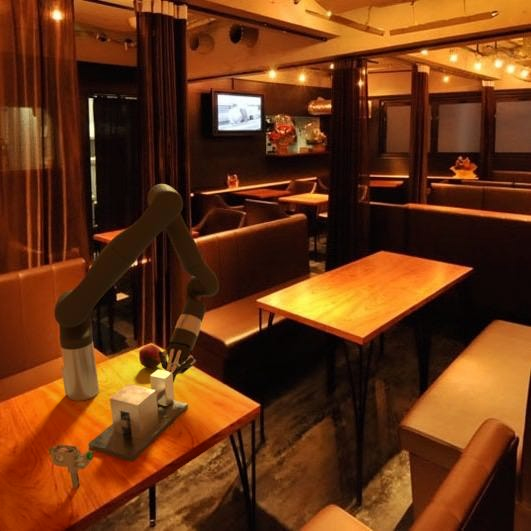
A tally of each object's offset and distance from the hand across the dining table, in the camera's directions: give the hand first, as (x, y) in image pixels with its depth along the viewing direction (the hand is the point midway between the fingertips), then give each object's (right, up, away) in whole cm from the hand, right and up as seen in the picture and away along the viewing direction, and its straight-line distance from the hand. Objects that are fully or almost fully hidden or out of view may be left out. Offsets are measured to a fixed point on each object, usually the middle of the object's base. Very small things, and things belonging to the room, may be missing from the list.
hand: (167, 385), depth 149 cm
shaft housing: (-5, -9, -10) cm, 15 cm away
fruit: (-10, 0, +23) cm, 25 cm away
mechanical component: (-15, -16, -32) cm, 39 cm away
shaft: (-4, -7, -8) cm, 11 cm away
